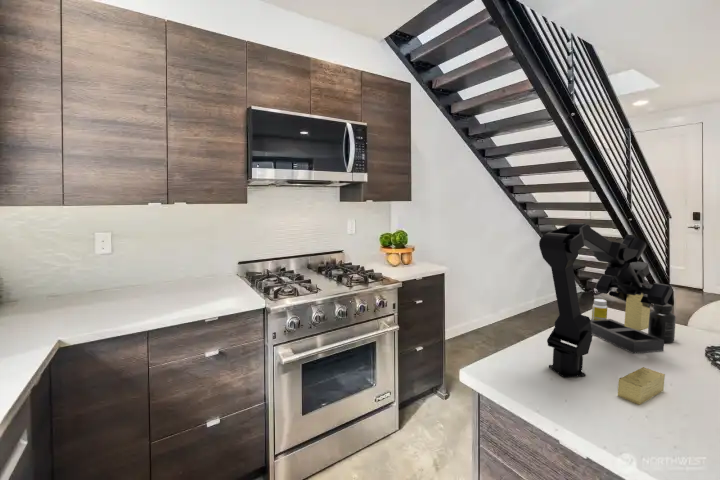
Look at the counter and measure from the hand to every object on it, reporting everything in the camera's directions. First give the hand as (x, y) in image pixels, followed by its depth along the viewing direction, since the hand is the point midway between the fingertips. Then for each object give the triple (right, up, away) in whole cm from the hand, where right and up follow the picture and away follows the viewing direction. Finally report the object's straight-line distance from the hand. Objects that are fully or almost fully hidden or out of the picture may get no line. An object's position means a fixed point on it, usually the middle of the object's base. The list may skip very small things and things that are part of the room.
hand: (640, 304), depth 114 cm
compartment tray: (-2, -13, +6) cm, 14 cm away
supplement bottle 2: (+11, -13, +6) cm, 18 cm away
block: (-20, -17, -26) cm, 37 cm away
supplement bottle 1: (+3, -11, +24) cm, 26 cm away
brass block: (-1, -7, 0) cm, 7 cm away
